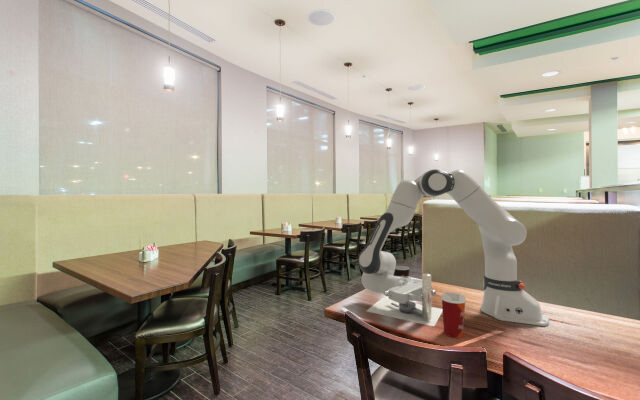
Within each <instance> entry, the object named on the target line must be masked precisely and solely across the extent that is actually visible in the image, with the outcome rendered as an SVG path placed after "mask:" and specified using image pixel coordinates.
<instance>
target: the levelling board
mask: <svg viewBox="0 0 640 400" xmlns="http://www.w3.org/2000/svg"><path fill="white" fill-rule="evenodd" d="M415 304H416V308H417V309H420V310H422V304H419V303H415ZM366 312H368V313H372V314H377V315H381V316H385V317H389V318H395V319H399V320H402V321H407V322H411V323H418V324H420V325H426V326H429V327H435V326H436V324H437V322H438V320H439V319H440V317H441V315H442V314H443V309H442V308H440V307H435V306H431V320H425V319H423V318H421V317H419V316H417V315H415V314H413V313H403V312H401V311H399V303H398V302H396V301H393V300H391V299H389V298H388V297H381V298H380V299H378V301H377V302H375V303H374V304H373V305H372V306H370V307H368V309H366Z"/></svg>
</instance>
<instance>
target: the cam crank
mask: <svg viewBox="0 0 640 400" xmlns="http://www.w3.org/2000/svg"><path fill="white" fill-rule="evenodd" d="M421 275H422V276H421V281H422V295H421V296H423V297H424V298H423V299H424V300H423V301H422V302H421V305H422V310H420V309H417V308H416V304H417V303H415V301H408V302H406V303H399V311H401V312H403V313H413V314H415V315H417V316H419V317H421V318H423V319H425V320H431V307H432V295H431V289H432V274H431V273H422V274H421Z"/></svg>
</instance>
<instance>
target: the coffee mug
mask: <svg viewBox="0 0 640 400" xmlns="http://www.w3.org/2000/svg"><path fill="white" fill-rule="evenodd" d="M409 275H410V267H408V266H405V265H396V268H395V272H394V275H393V276H399V277H403V276H409ZM409 277H410V276H409Z"/></svg>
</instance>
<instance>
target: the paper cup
mask: <svg viewBox="0 0 640 400" xmlns="http://www.w3.org/2000/svg"><path fill="white" fill-rule="evenodd" d="M440 299H441V306H442V308H441V309H443V312H442V323H443V324H442V325H443V333H444V334H445V335H446V336H447V337H450V338H454V339H455V338H456V339H460V338H463V337H464V323H465V312H466V311H465V310H466V309H465V307H466V306H465V305H466V303H467V300H466V297H465V295H463V294H462V293H458V292H450V291H449V292H443V293H442V294H441V296H440Z"/></svg>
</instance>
